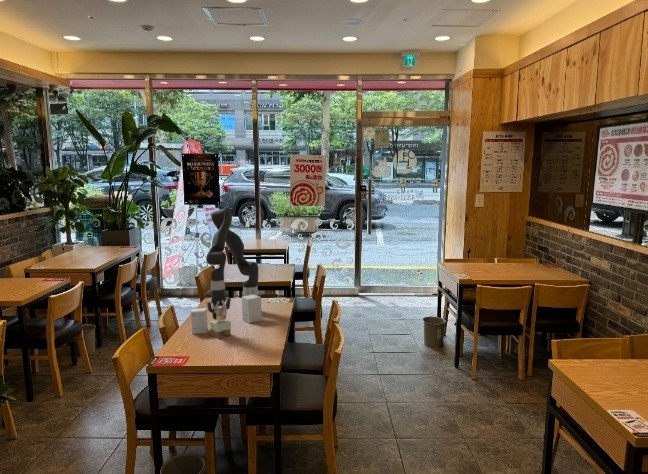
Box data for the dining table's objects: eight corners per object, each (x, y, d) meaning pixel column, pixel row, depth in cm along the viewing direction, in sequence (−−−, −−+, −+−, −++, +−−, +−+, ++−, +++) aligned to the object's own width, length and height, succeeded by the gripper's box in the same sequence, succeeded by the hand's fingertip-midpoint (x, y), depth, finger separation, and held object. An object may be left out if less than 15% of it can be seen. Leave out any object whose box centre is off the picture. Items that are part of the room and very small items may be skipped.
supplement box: (262, 320, 277) (261, 296, 275) (249, 323, 271) (248, 299, 269) (255, 317, 284) (254, 294, 282) (242, 320, 278) (241, 296, 277)
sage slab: (223, 325, 257) (223, 318, 257) (230, 328, 251) (230, 321, 251) (210, 328, 252) (210, 321, 252) (217, 332, 246) (217, 324, 246)
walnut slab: (223, 332, 258) (223, 325, 257) (230, 335, 252) (230, 328, 251) (210, 335, 253) (210, 328, 252) (217, 339, 247) (217, 332, 246)
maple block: (221, 317, 254) (221, 306, 254) (226, 319, 251) (225, 308, 250) (213, 319, 251) (213, 308, 250) (217, 321, 247) (217, 310, 247)
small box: (207, 329, 262) (206, 307, 260) (206, 333, 256) (205, 310, 254) (193, 330, 260) (192, 308, 259) (192, 334, 254) (190, 311, 253)
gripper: (226, 284, 256) (228, 314, 258) (202, 289, 247) (204, 319, 249) (233, 286, 250) (234, 316, 253) (209, 291, 241) (210, 322, 243)
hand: (219, 317), depth 251 cm, fingers closed on maple block, 5 cm apart
